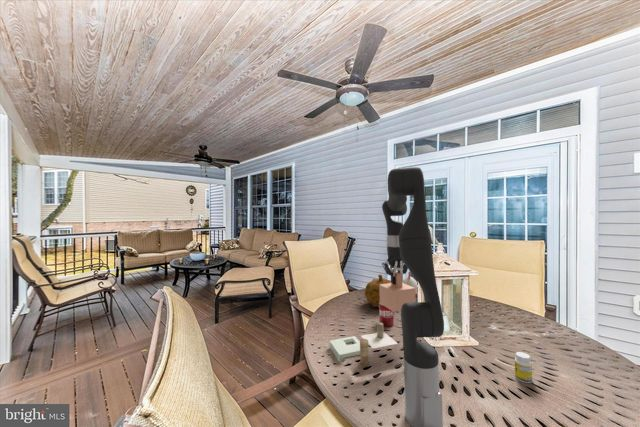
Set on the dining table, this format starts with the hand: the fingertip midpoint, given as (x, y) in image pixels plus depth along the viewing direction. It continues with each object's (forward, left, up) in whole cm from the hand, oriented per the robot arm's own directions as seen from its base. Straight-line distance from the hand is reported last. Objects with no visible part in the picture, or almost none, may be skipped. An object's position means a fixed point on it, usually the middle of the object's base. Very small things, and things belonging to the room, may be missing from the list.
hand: (396, 283), depth 115 cm
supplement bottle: (-35, -26, -27) cm, 52 cm away
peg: (-10, +22, -27) cm, 36 cm away
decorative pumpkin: (+44, -17, -27) cm, 54 cm away
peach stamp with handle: (0, 0, -10) cm, 10 cm away
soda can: (+17, -4, -27) cm, 32 cm away
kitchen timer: (+57, -47, -27) cm, 79 cm away
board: (+4, +8, -27) cm, 28 cm away
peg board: (+2, +24, -27) cm, 36 cm away
